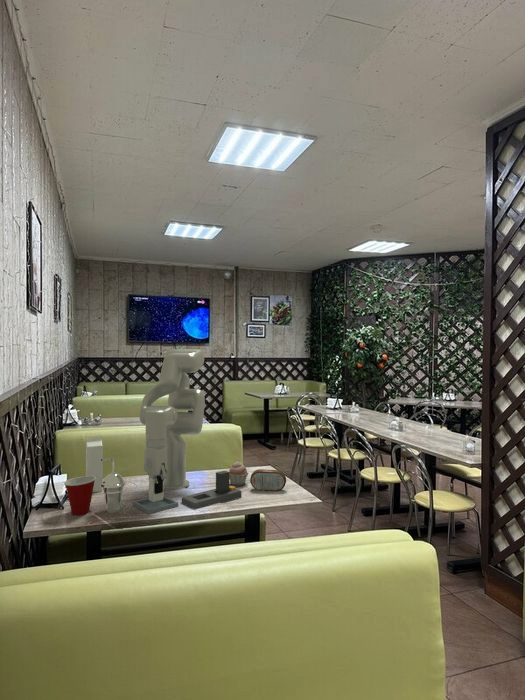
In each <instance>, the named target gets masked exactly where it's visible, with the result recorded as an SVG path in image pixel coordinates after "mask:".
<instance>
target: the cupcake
mask: <svg viewBox="0 0 525 700" xmlns="http://www.w3.org/2000/svg"><path fill="white" fill-rule="evenodd" d="M228 472H229V485H230V486H234V487H241V486H244V485H245V484H246V482H247V481H246V480H247V478H248V476H249V474H250V473H249V472H248V470H247V468H246V466H245V465H244V464H243V463H241V462H240V461H239V460H237V461H235V462H234V463H233V464H232V465H231V466H230V468H229V470H228Z"/></svg>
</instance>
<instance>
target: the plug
mask: <svg viewBox="0 0 525 700" xmlns="http://www.w3.org/2000/svg"><path fill="white" fill-rule="evenodd" d="M160 474H161V472H160ZM159 477H161V476H158V478H159ZM154 483H156V482H155V476H153V475H151V474H149V475H148V498H149V500H150V501H152V502H155V501H159V500H163V496H164V491H163V492H162V493H159V494H155V488H154ZM163 487H164V482H163Z"/></svg>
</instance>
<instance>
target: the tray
mask: <svg viewBox="0 0 525 700" xmlns="http://www.w3.org/2000/svg"><path fill="white" fill-rule="evenodd" d="M132 506H133V507H136V508H137V509H138V510H139V509H140V510H141V511H142V512H144V513H146V514H147V515H150V514H155V513H158V512H163V511H165V510H166V511H167V510H169V509H173V508H176V507H179V502H178V501H176V500H173V499H171V498H169V497H167V496H165V495H163V500H159V501H155V502H152V501H150V500H149V497H147V498H143V499H139V500H135V501H133V502H132Z"/></svg>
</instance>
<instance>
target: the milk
mask: <svg viewBox="0 0 525 700" xmlns="http://www.w3.org/2000/svg"><path fill="white" fill-rule="evenodd" d="M103 446H104V445H103V438H102V436H92V437H91V436H90V437H86V442H85V476H94V477H96V479H95V482H94V487H93V493H99V492H103V487H101V483H102V482H103V481H104V478H103V472H104V470H103V466H104V465H103V464H104V463H103V462H104V461H101V459H104V458H103V454H104V453H103V452H104V451H103V450H104V449H103V448H104V447H103Z"/></svg>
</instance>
